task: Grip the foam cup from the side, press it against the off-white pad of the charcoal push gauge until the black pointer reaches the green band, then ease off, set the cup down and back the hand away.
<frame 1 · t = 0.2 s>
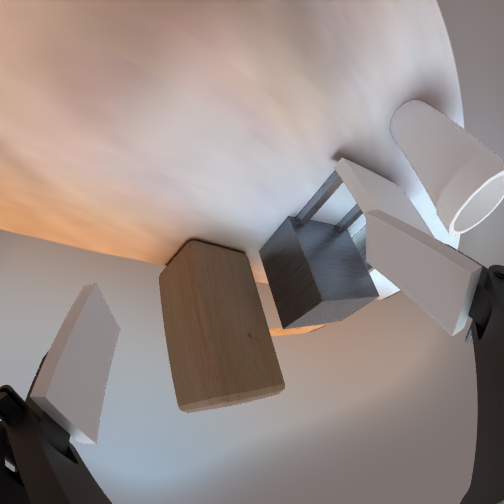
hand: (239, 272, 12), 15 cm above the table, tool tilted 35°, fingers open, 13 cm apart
gauge slider: (396, 232, 29), point 8 cm above the table, slide at 0.0 cm
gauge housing: (371, 166, 30), on the table
foam cup: (409, 120, 24), on the table
wooden block: (201, 262, 39), on the table
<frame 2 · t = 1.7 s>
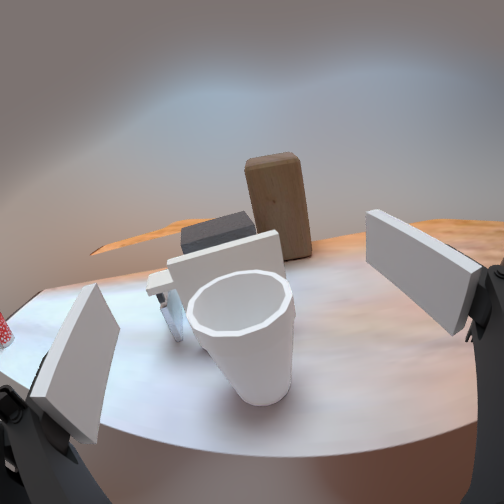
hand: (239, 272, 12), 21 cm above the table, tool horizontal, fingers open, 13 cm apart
gauge slider: (217, 289, 35), point 8 cm above the table, slide at 0.0 cm
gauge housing: (249, 341, 36), on the table
beverage cup: (9, 342, 43), on the table
foam cup: (263, 385, 29), on the table
wooden block: (286, 251, 58), on the table
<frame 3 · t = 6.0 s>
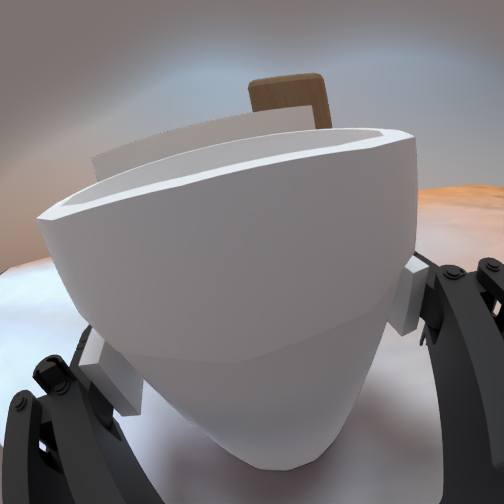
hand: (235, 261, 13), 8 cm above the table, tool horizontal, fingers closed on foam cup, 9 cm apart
gauge slider: (192, 225, 18), point 8 cm above the table, slide at 0.0 cm
foam cup: (281, 421, 12), on the table, touching gripper
wooden block: (304, 209, 41), on the table
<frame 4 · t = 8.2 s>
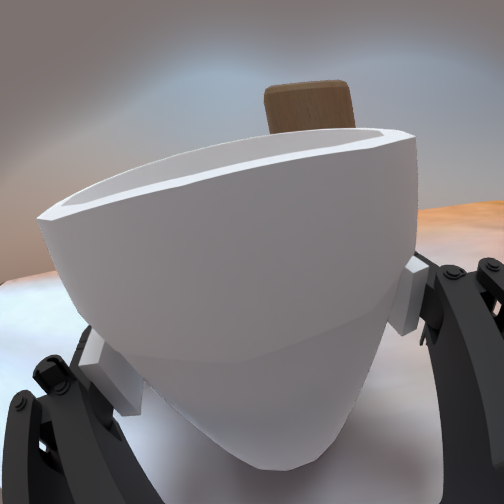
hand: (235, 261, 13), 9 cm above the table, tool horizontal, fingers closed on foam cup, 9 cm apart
foam cup: (281, 421, 12), point 2 cm above the table, touching gripper
wooden block: (321, 230, 38), on the table
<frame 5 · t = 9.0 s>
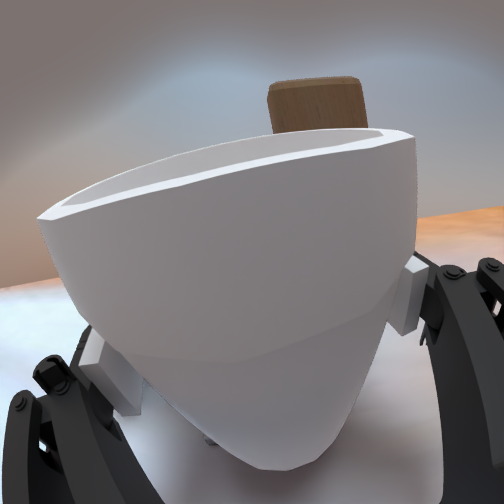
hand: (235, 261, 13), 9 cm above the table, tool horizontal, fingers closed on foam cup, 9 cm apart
foam cup: (281, 421, 12), point 2 cm above the table, touching gripper
wooden block: (329, 239, 35), on the table
when the fingers open (8 cm above the table, at t = 11.8 s): foam cup stays where it is, on the table.
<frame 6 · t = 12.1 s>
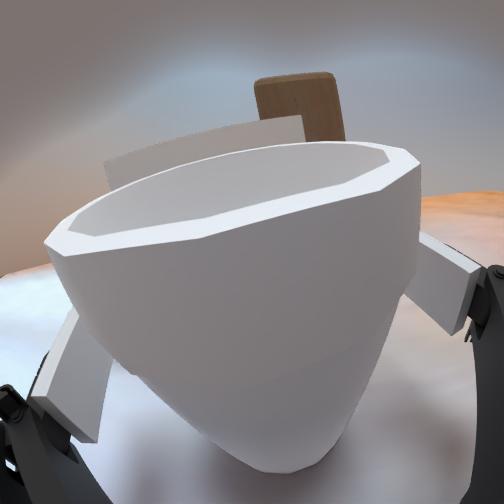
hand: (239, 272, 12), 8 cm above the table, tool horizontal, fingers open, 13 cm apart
gauge slider: (194, 224, 20), point 8 cm above the table, slide at 4.9 cm
foam cup: (283, 425, 13), on the table
wooden block: (312, 218, 39), on the table
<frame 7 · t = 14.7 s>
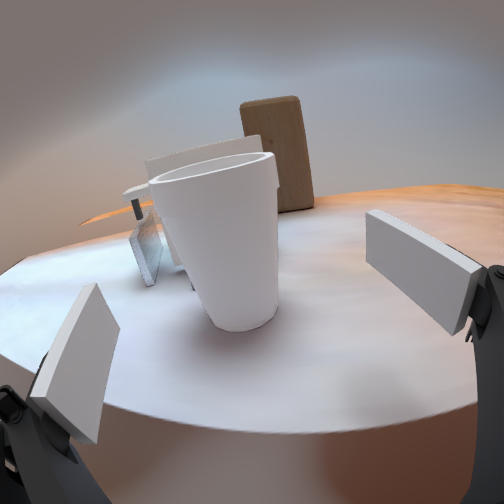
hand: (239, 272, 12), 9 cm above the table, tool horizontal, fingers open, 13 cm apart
gauge slider: (196, 201, 32), point 8 cm above the table, slide at 4.9 cm
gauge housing: (234, 281, 29), on the table
foam cup: (243, 310, 25), on the table
wooden block: (285, 205, 51), on the table
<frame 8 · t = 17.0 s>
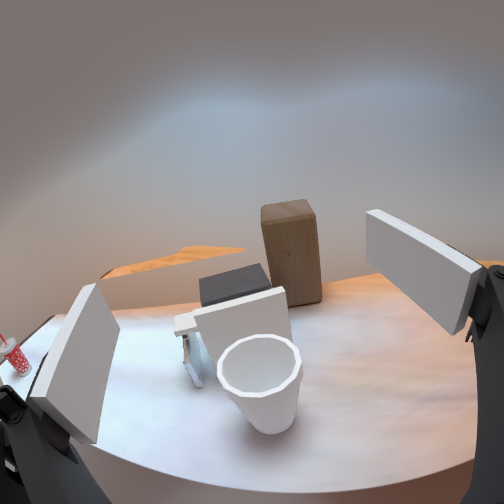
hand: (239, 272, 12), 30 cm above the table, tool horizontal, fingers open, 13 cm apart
gauge slider: (233, 330, 41), point 8 cm above the table, slide at 4.9 cm
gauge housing: (264, 391, 38), on the table
beverage cup: (26, 371, 45), on the table
foam cup: (273, 417, 34), on the table
wooden block: (297, 293, 60), on the table
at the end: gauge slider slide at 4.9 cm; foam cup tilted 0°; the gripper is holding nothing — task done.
